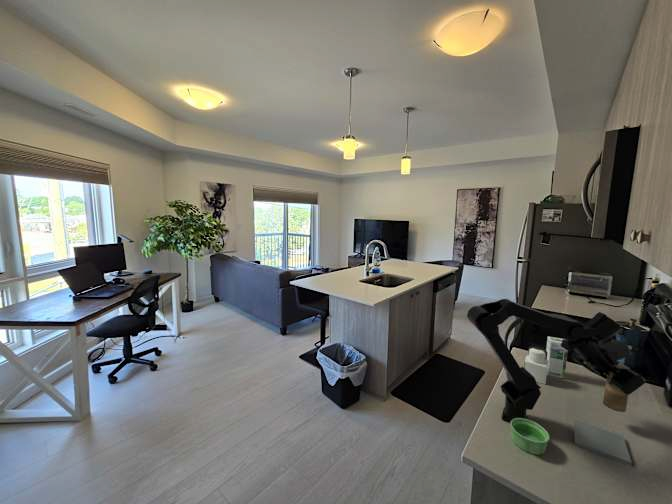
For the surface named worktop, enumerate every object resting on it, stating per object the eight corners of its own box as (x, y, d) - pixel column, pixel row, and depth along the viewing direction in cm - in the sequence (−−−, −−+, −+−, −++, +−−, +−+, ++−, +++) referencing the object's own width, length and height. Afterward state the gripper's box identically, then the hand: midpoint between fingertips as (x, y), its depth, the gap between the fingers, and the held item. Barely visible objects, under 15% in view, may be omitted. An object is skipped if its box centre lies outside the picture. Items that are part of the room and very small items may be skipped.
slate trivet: (631, 466, 72) (631, 462, 72) (575, 444, 78) (575, 441, 78) (622, 439, 80) (623, 436, 80) (572, 421, 87) (573, 418, 87)
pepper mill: (627, 414, 82) (634, 372, 80) (604, 407, 85) (610, 367, 83) (624, 405, 86) (630, 365, 84) (601, 398, 89) (607, 360, 87)
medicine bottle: (525, 370, 116) (528, 342, 114) (546, 376, 111) (549, 348, 110) (523, 377, 110) (526, 349, 109) (545, 384, 106) (549, 355, 104)
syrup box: (546, 375, 112) (550, 341, 110) (543, 368, 118) (547, 335, 116) (564, 379, 110) (568, 344, 108) (560, 371, 115) (565, 338, 113)
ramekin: (540, 463, 72) (542, 447, 72) (503, 440, 80) (504, 426, 79) (552, 446, 78) (554, 432, 77) (516, 426, 85) (518, 413, 84)
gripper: (643, 347, 73) (681, 388, 74) (585, 321, 92) (616, 354, 93) (608, 374, 75) (645, 414, 76) (557, 342, 93) (587, 375, 94)
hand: (622, 386), depth 85 cm, fingers closed on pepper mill, 5 cm apart
